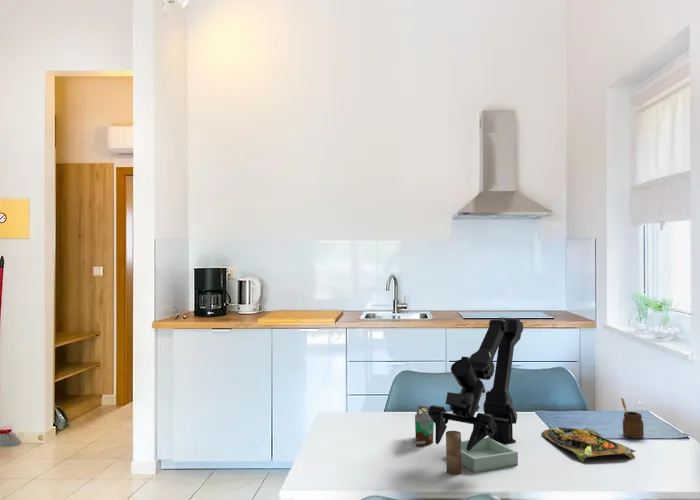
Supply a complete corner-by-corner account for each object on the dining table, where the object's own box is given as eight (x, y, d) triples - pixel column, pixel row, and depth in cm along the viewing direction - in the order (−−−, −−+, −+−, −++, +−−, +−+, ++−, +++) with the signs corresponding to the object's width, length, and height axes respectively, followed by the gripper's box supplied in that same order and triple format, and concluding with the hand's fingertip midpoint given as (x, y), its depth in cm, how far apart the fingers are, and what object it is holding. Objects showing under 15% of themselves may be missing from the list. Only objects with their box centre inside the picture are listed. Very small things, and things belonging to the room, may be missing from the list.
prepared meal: (535, 423, 181) (587, 419, 183) (535, 433, 181) (588, 430, 183) (579, 455, 153) (640, 451, 155) (579, 468, 153) (640, 463, 155)
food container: (435, 449, 167) (435, 415, 167) (415, 448, 168) (414, 415, 168) (437, 436, 179) (437, 405, 179) (418, 435, 180) (418, 404, 180)
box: (488, 449, 166) (488, 437, 166) (518, 464, 153) (517, 452, 153) (447, 455, 161) (447, 443, 161) (474, 472, 148) (474, 459, 148)
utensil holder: (647, 438, 173) (646, 400, 173) (627, 438, 173) (626, 400, 174) (638, 432, 179) (637, 395, 179) (618, 433, 179) (617, 395, 179)
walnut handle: (456, 468, 151) (455, 429, 151) (464, 473, 147) (463, 434, 147) (443, 470, 150) (443, 431, 150) (451, 476, 146) (450, 436, 146)
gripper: (430, 376, 158) (410, 424, 149) (491, 384, 147) (474, 437, 138) (444, 398, 164) (425, 446, 155) (504, 408, 153) (488, 460, 144)
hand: (451, 446), depth 148 cm, fingers open, 9 cm apart
